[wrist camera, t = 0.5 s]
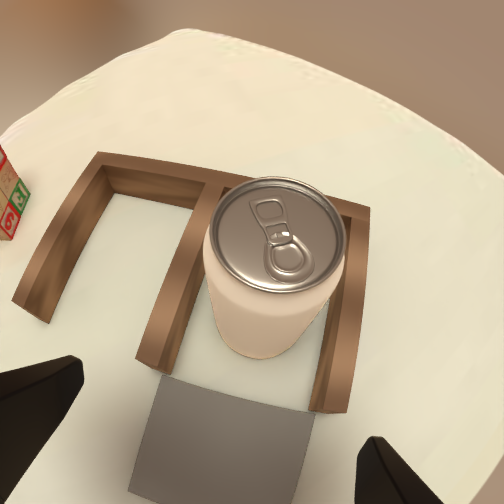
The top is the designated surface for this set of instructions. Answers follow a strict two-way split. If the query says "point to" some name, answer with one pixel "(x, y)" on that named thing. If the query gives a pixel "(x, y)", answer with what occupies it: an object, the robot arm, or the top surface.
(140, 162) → the shelf lanes
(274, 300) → the can
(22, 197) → the stack of blocks
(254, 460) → the mat
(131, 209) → the top surface
